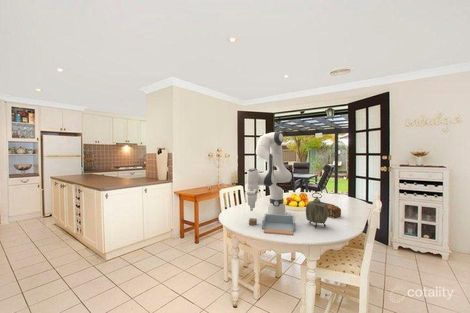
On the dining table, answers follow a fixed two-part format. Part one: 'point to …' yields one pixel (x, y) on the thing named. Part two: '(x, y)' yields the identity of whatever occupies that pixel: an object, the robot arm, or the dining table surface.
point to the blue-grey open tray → (278, 222)
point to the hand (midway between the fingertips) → (252, 209)
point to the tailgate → (278, 231)
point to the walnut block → (253, 221)
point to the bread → (333, 211)
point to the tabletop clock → (316, 211)
